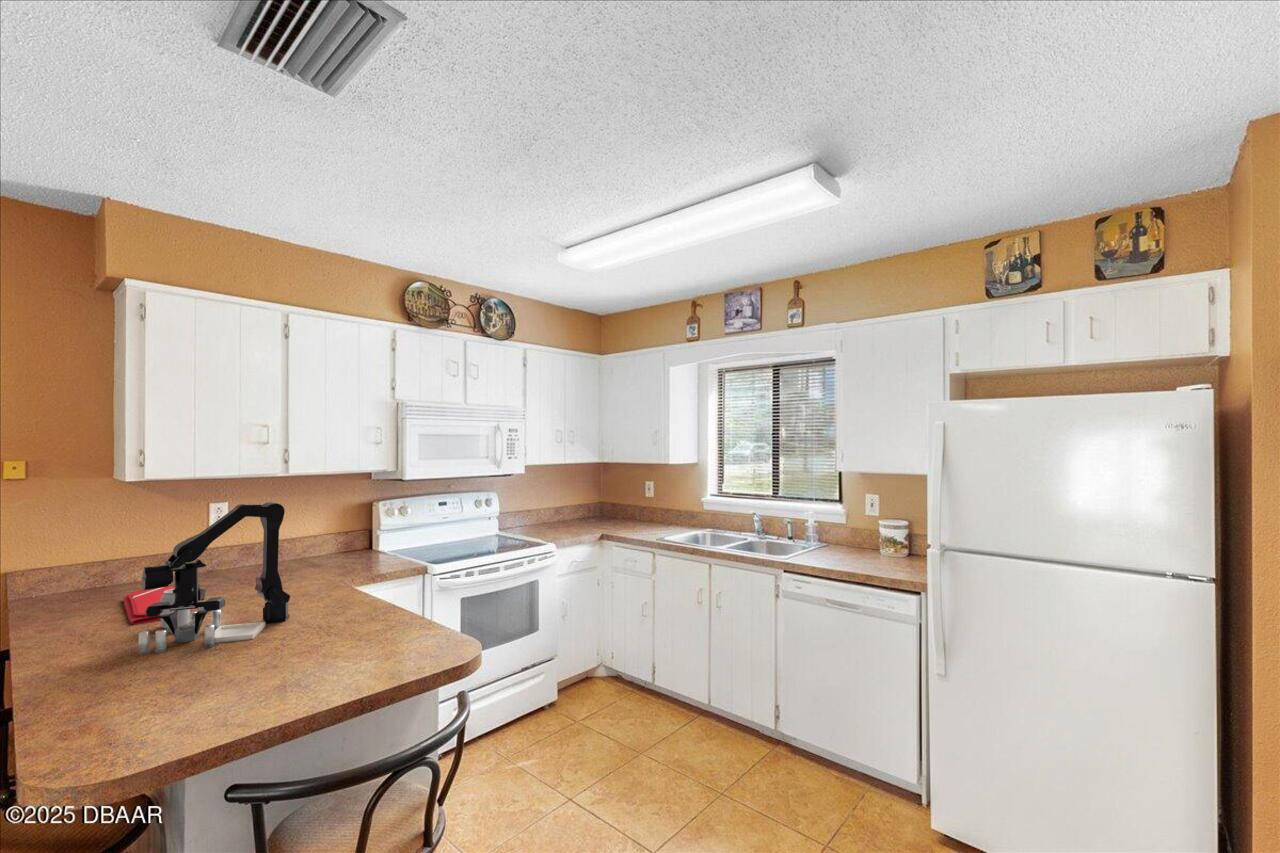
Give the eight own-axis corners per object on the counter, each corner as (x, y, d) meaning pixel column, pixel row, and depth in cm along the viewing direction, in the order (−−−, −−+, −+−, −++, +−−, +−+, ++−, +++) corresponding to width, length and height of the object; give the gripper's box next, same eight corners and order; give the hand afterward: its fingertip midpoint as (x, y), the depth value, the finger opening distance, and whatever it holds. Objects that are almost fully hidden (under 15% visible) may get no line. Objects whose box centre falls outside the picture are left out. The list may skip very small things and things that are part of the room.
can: (173, 630, 186) (173, 593, 186) (154, 629, 187) (154, 592, 187) (195, 623, 193) (195, 587, 193) (177, 622, 195) (177, 586, 195)
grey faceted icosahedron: (200, 635, 181) (200, 624, 181) (192, 641, 175) (192, 630, 175) (180, 637, 179) (180, 626, 179) (172, 643, 174) (172, 632, 174)
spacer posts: (236, 626, 190) (236, 607, 190) (212, 647, 171) (212, 626, 171) (169, 632, 184) (168, 613, 184) (136, 655, 165) (136, 634, 165)
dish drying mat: (129, 627, 191) (129, 616, 191) (122, 602, 221) (122, 592, 221) (189, 616, 202) (189, 605, 202) (174, 593, 232) (174, 584, 232)
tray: (265, 626, 189) (265, 621, 189) (252, 639, 177) (252, 634, 177) (220, 630, 185) (220, 626, 185) (204, 644, 173) (204, 639, 173)
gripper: (231, 574, 188) (231, 622, 188) (162, 580, 182) (162, 629, 182) (218, 583, 178) (218, 634, 177) (144, 589, 172) (144, 641, 171)
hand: (186, 634), depth 177 cm, fingers closed on grey faceted icosahedron, 5 cm apart
